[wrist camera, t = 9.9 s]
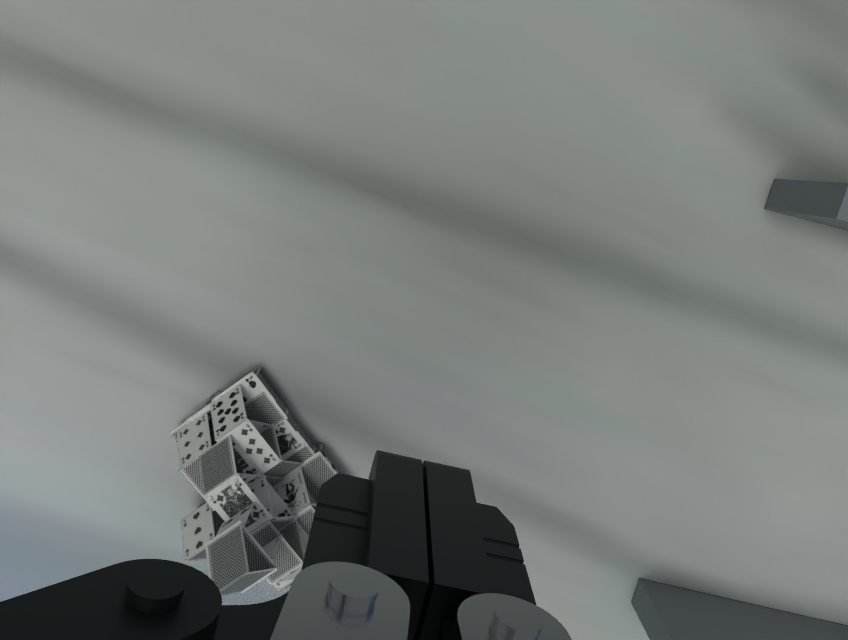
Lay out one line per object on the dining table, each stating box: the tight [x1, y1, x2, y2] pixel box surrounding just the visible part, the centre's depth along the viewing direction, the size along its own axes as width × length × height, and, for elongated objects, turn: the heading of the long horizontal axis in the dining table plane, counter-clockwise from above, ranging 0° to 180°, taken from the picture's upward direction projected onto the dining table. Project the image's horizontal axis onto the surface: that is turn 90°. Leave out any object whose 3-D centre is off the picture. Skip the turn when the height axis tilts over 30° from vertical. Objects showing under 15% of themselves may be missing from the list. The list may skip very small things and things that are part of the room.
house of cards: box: [170, 368, 338, 596], centre depth 25 cm, size 9×9×8 cm
